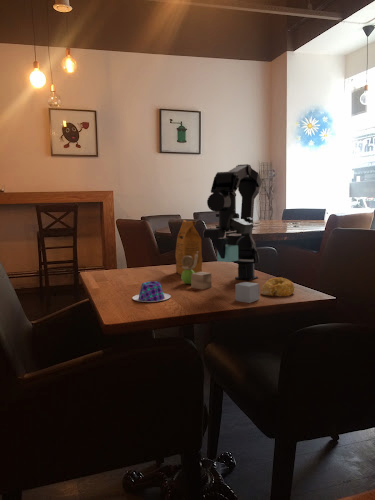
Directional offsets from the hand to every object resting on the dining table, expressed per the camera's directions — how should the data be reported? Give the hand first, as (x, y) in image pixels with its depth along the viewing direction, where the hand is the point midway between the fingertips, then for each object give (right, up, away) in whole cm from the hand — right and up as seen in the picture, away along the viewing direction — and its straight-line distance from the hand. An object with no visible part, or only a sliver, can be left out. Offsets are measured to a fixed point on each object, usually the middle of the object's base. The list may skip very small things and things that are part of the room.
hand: (227, 257), depth 138 cm
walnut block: (-9, -11, +6) cm, 15 cm away
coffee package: (-13, -7, +34) cm, 37 cm away
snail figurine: (-12, -10, +13) cm, 20 cm away
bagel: (+15, -12, -5) cm, 20 cm away
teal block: (0, -1, 0) cm, 1 cm away
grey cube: (+5, -13, -13) cm, 19 cm away
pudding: (-25, -13, -8) cm, 29 cm away
